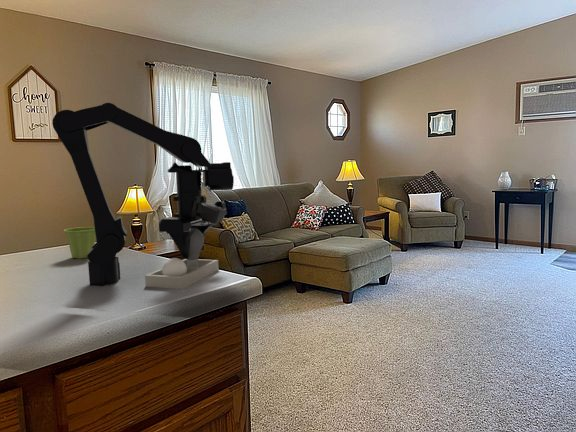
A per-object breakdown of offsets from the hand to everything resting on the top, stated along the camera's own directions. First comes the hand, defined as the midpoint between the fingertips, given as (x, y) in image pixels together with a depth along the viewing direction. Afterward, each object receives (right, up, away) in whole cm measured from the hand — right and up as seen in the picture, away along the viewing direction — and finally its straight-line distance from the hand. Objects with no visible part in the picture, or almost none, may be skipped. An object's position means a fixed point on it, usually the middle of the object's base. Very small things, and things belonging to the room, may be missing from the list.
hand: (192, 256), depth 106 cm
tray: (-1, -6, -3) cm, 7 cm away
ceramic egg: (-2, -5, -7) cm, 9 cm away
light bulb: (0, -3, 0) cm, 3 cm away
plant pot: (-40, -3, +28) cm, 49 cm away
